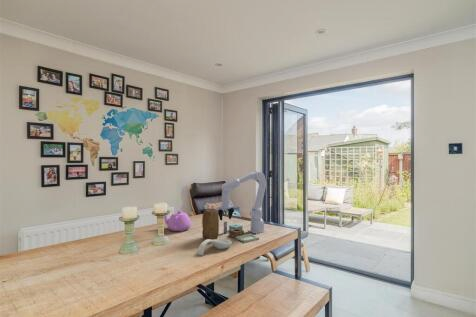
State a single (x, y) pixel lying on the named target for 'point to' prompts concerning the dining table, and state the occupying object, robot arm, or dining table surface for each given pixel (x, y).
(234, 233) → the walnut bore block
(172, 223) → the teapot
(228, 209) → the robot arm
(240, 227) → the teal block
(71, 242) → the dining table surface
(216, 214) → the block
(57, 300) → the dining table surface
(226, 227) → the pin gauge
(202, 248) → the spoon rest
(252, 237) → the tray
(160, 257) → the dining table surface
